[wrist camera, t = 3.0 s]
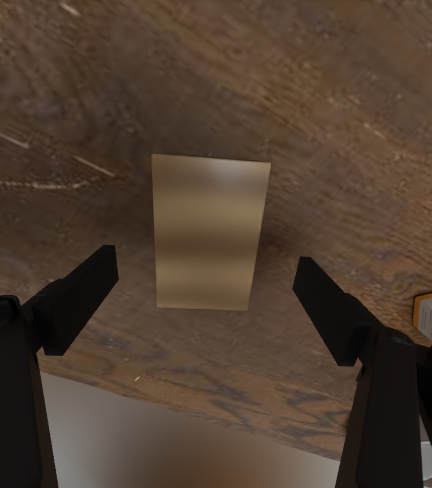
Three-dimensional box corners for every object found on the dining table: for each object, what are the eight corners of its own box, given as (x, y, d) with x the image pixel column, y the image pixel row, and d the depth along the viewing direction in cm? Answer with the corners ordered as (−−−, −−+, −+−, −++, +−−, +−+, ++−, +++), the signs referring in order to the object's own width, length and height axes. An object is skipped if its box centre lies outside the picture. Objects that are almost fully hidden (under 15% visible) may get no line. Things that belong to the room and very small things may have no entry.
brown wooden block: (159, 153, 19) (151, 153, 16) (262, 161, 19) (271, 163, 17) (163, 289, 24) (157, 307, 22) (243, 293, 25) (247, 311, 22)
